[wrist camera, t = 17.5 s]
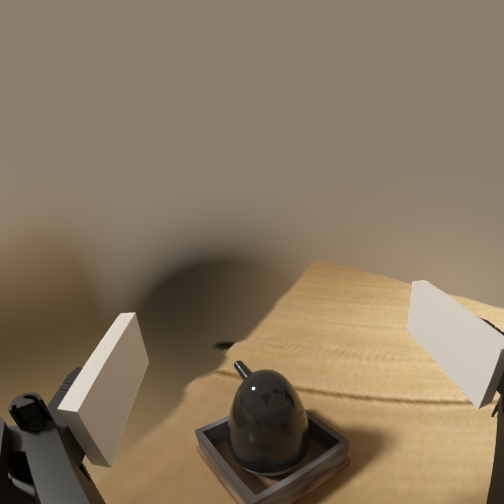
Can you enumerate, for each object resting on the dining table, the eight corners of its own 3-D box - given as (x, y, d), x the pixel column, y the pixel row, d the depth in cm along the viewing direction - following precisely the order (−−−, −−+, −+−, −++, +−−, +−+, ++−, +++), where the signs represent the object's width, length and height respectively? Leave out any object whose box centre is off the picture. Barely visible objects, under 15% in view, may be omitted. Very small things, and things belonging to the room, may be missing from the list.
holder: (281, 412, 45) (280, 387, 43) (349, 463, 32) (354, 440, 31) (198, 452, 37) (190, 429, 36) (255, 525, 25) (251, 508, 23)
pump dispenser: (275, 420, 41) (270, 338, 37) (325, 457, 33) (334, 374, 29) (217, 452, 36) (196, 370, 31) (263, 500, 27) (252, 424, 23)
